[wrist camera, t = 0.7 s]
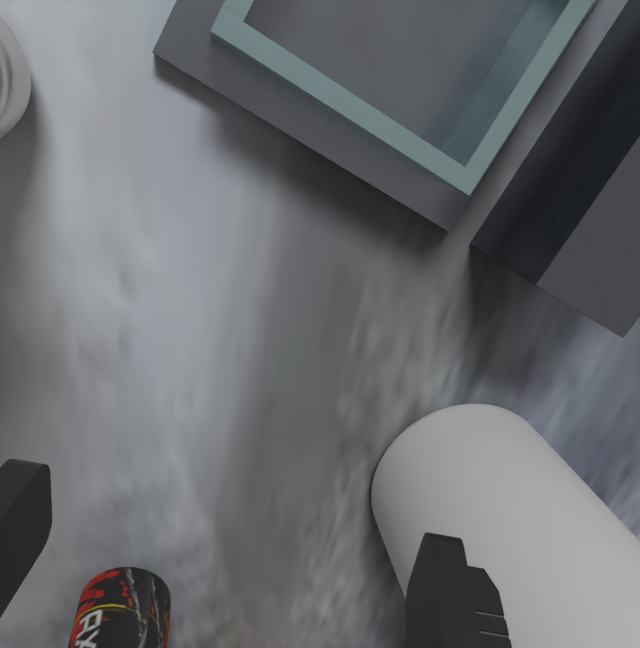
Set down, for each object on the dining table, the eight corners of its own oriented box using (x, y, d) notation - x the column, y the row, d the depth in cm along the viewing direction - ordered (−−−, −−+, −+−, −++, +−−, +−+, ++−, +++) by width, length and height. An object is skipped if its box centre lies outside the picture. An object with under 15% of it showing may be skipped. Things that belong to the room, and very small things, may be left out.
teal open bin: (154, 53, 30) (136, 44, 22) (343, -350, 26) (397, -524, 18) (543, 288, 38) (623, 338, 31) (735, 14, 34) (880, -4, 27)
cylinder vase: (557, 505, 45) (920, 944, 22) (403, 575, 45) (605, 1089, 22) (514, 368, 40) (925, 752, 17) (340, 447, 40) (517, 939, 17)
